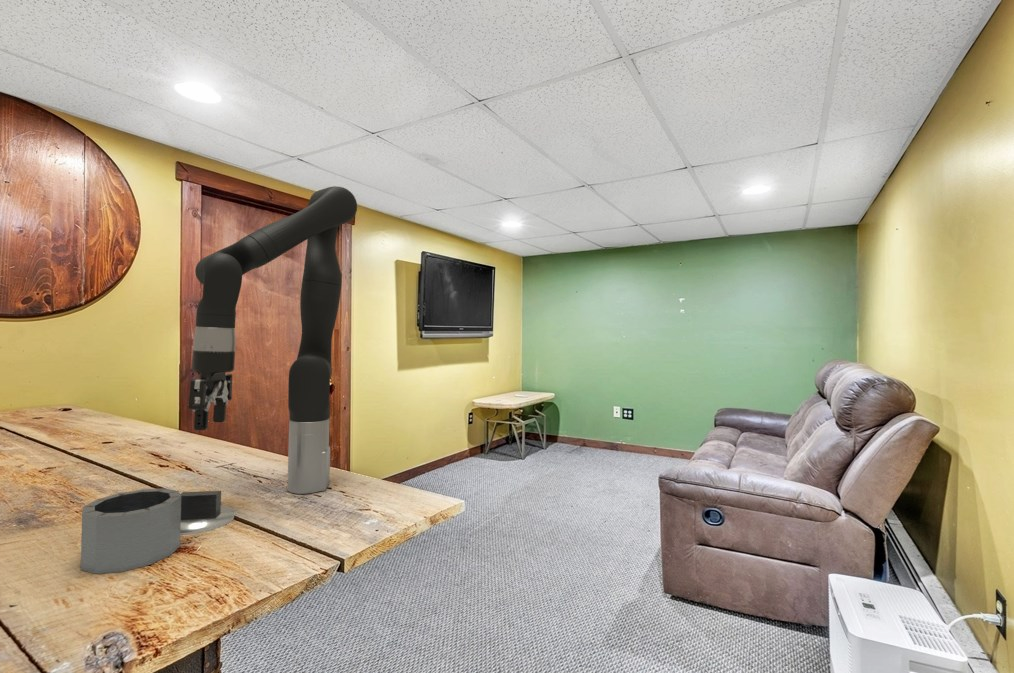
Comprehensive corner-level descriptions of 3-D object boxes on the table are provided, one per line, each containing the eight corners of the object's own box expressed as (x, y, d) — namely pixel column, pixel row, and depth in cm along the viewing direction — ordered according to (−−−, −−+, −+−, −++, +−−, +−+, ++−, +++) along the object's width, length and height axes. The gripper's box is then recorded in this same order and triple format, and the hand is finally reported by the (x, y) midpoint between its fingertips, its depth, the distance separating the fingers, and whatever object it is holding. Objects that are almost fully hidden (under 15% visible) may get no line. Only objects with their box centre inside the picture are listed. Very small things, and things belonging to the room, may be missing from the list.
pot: (192, 534, 86) (193, 487, 86) (154, 569, 74) (156, 514, 74) (112, 539, 84) (114, 490, 84) (59, 576, 71) (61, 518, 71)
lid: (243, 509, 100) (244, 482, 100) (220, 534, 88) (221, 503, 88) (179, 512, 97) (180, 484, 97) (146, 538, 85) (147, 506, 85)
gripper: (219, 351, 90) (215, 433, 90) (246, 348, 104) (242, 419, 104) (177, 349, 89) (172, 432, 89) (210, 347, 103) (206, 419, 103)
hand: (210, 425), depth 96 cm, fingers open, 8 cm apart
